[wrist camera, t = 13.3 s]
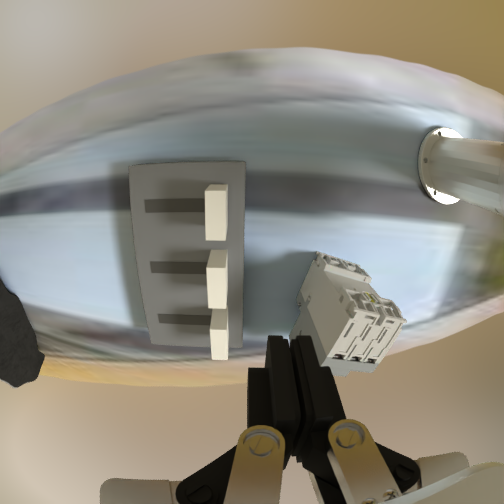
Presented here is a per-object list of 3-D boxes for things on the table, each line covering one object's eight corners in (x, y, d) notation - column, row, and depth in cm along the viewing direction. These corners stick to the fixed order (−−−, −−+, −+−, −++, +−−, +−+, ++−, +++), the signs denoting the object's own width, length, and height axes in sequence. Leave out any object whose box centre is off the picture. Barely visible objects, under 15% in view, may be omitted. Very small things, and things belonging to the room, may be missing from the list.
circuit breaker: (281, 329, 43) (296, 401, 29) (317, 251, 39) (356, 307, 25) (321, 338, 44) (347, 404, 30) (359, 264, 40) (408, 319, 26)
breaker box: (245, 161, 34) (247, 165, 25) (242, 331, 43) (243, 373, 34) (137, 164, 33) (106, 170, 24) (155, 328, 42) (140, 367, 33)
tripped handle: (227, 184, 30) (225, 190, 26) (227, 226, 32) (225, 240, 27) (210, 184, 30) (204, 190, 26) (210, 226, 32) (205, 240, 27)
